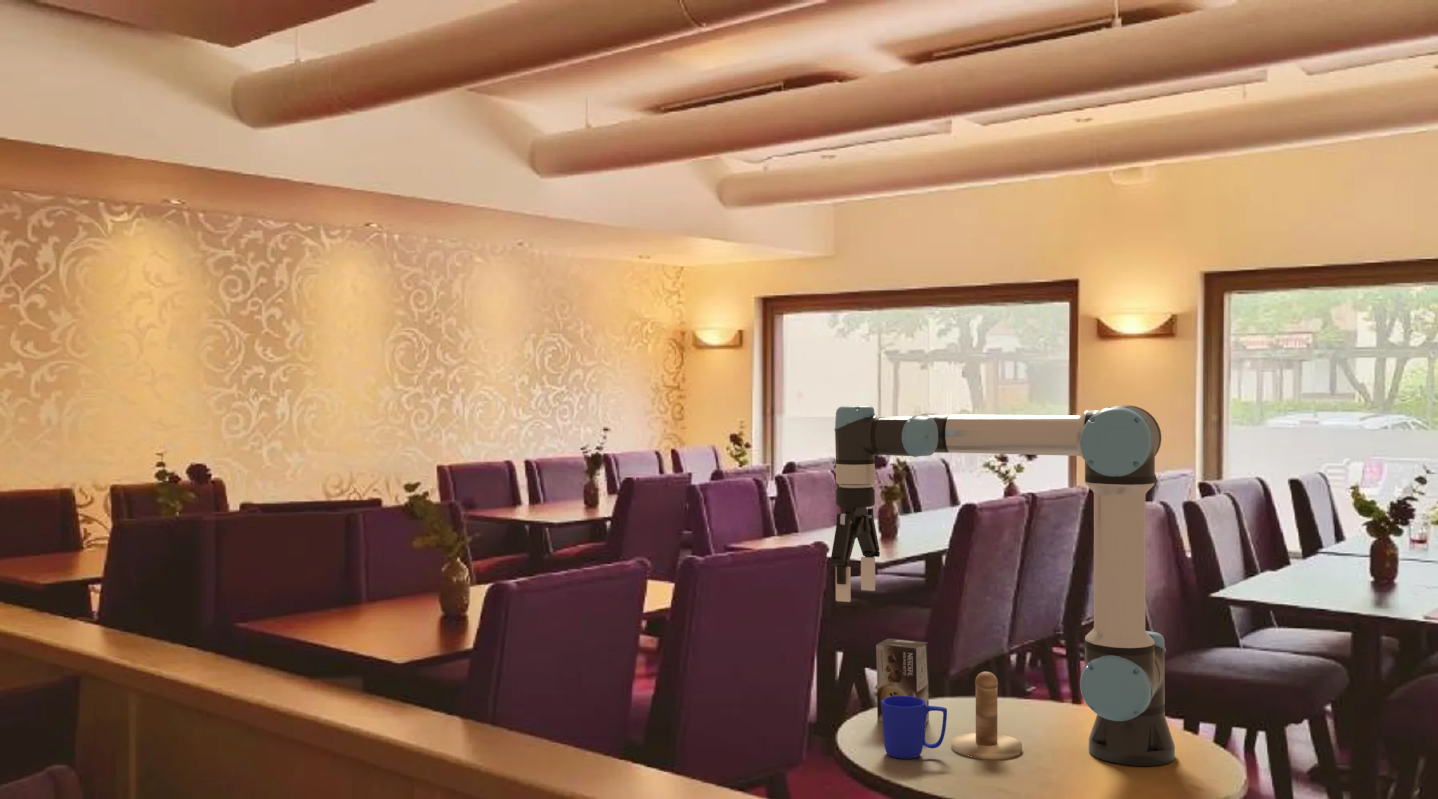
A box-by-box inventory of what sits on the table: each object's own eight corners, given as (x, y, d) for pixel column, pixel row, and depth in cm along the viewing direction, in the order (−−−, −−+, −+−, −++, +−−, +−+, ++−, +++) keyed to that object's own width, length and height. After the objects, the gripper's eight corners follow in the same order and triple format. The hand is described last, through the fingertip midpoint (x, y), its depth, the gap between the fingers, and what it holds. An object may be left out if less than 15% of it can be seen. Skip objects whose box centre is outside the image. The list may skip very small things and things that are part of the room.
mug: (946, 764, 222) (946, 709, 222) (879, 760, 225) (879, 706, 224) (947, 750, 230) (947, 697, 230) (882, 747, 233) (882, 694, 232)
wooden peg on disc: (1028, 744, 234) (1028, 667, 234) (1013, 763, 223) (1012, 683, 222) (962, 735, 240) (961, 661, 240) (943, 753, 229) (942, 675, 228)
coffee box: (930, 720, 250) (929, 642, 250) (917, 728, 245) (917, 647, 245) (889, 714, 255) (888, 637, 255) (875, 721, 250) (875, 642, 250)
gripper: (859, 480, 250) (860, 584, 250) (812, 490, 227) (813, 604, 228) (894, 481, 246) (895, 587, 247) (850, 491, 224) (851, 607, 224)
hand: (856, 595), depth 237 cm, fingers open, 13 cm apart
